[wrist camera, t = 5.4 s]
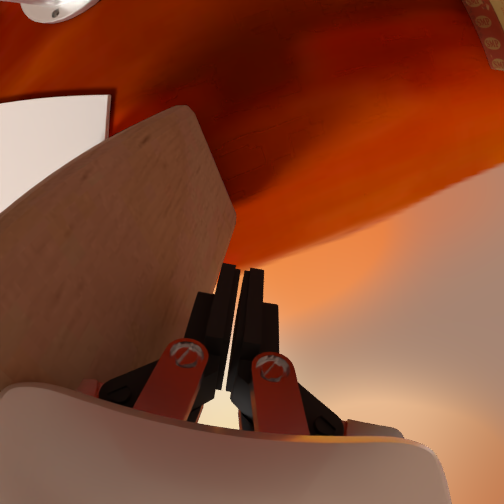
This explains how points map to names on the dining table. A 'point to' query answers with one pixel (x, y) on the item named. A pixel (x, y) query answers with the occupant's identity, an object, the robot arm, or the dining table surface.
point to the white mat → (46, 138)
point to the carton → (489, 28)
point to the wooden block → (111, 254)
